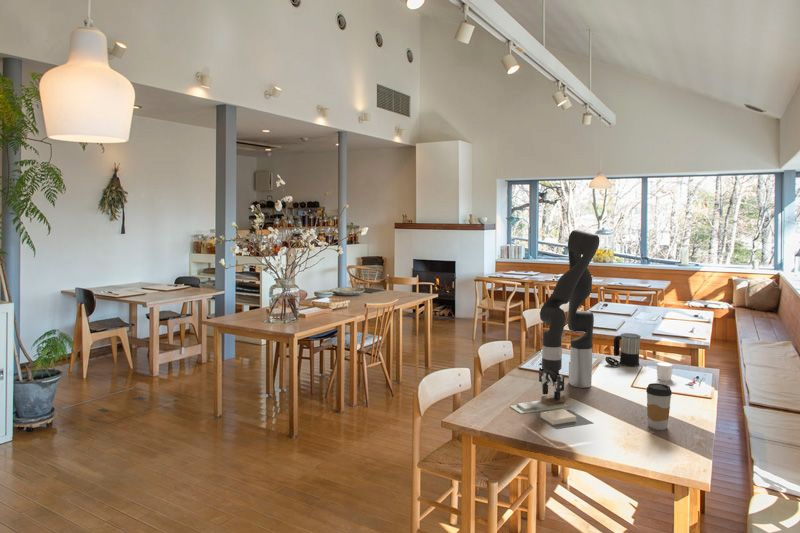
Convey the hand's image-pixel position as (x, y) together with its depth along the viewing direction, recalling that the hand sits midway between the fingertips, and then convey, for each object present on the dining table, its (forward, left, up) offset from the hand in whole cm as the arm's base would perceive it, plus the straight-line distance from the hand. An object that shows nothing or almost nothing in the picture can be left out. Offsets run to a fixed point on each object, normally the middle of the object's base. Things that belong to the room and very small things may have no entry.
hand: (550, 397), depth 228 cm
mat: (+14, -4, -4) cm, 15 cm away
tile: (+14, -1, -2) cm, 14 cm away
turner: (0, -4, -3) cm, 5 cm away
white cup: (-13, +69, -4) cm, 70 cm away
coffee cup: (+31, +24, -4) cm, 39 cm away
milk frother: (-38, +67, -4) cm, 78 cm away
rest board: (0, -5, -4) cm, 6 cm away
